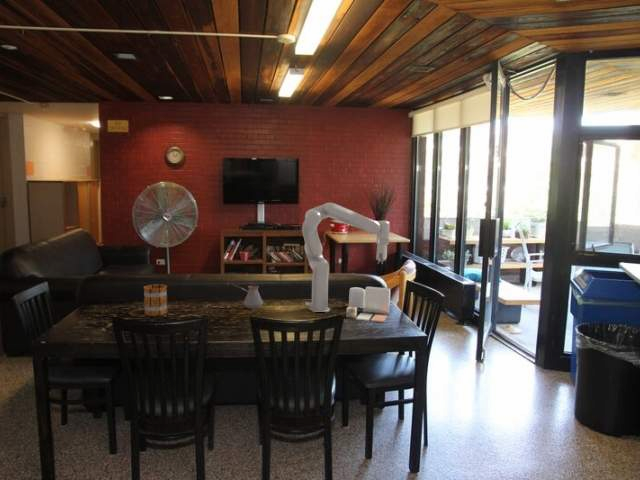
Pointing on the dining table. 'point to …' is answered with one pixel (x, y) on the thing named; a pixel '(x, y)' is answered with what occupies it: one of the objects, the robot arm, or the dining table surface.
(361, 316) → the sage pad
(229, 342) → the dining table surface
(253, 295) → the coffee pot
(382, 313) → the wall unit
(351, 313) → the birch block
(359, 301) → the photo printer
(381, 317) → the terracotta pad
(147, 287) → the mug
